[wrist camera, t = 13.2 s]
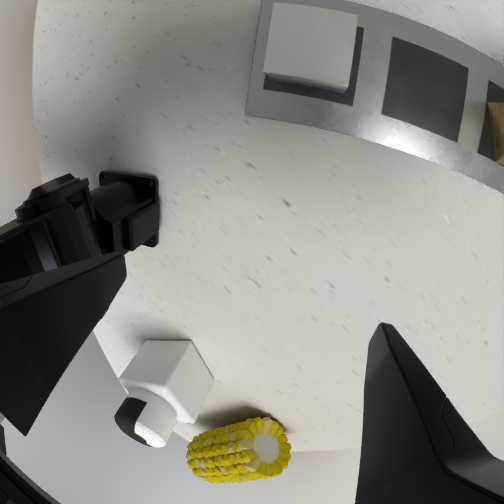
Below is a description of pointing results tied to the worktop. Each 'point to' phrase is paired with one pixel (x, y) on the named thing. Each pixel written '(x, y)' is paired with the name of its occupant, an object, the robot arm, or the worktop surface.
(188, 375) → the medicine bottle
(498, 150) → the tan wooden block
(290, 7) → the zinc block
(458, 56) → the grey slotted plate
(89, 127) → the worktop surface
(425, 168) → the worktop surface
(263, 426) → the food
